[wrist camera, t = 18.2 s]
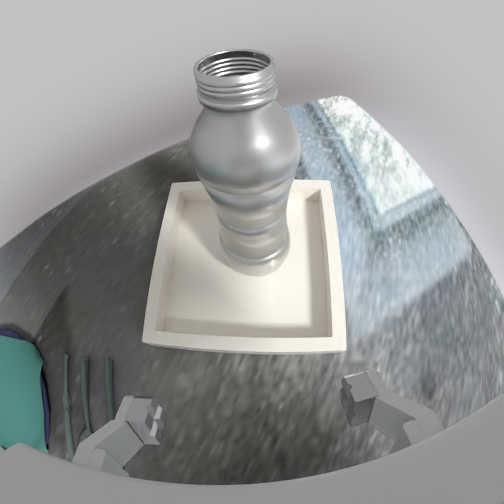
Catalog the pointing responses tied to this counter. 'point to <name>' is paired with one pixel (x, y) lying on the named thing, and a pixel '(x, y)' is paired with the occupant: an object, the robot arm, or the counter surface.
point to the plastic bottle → (245, 157)
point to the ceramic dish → (247, 282)
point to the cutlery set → (37, 395)
